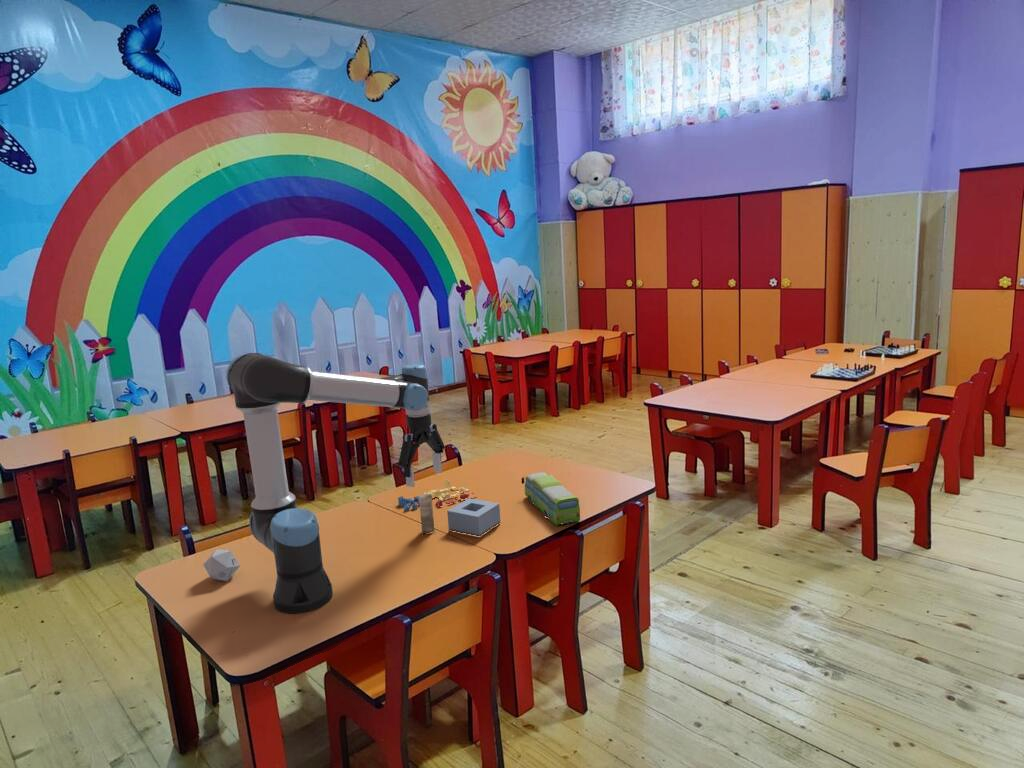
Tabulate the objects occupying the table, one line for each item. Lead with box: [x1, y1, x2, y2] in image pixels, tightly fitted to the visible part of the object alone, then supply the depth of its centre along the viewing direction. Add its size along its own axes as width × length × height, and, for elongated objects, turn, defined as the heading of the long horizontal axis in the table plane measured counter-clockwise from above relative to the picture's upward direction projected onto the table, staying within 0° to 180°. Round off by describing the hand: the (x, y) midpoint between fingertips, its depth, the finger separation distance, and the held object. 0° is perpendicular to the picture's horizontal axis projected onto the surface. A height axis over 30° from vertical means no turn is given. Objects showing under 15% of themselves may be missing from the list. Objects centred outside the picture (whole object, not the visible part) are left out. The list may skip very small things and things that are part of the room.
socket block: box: [446, 498, 501, 536], centre depth 224 cm, size 12×12×7 cm
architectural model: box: [397, 479, 474, 512], centre depth 254 cm, size 45×14×5 cm, turn 125°
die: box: [202, 548, 241, 582], centre depth 199 cm, size 8×9×10 cm
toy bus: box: [521, 471, 581, 526], centre depth 236 cm, size 10×31×10 cm, turn 19°
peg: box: [418, 493, 435, 534], centre depth 222 cm, size 4×4×12 cm
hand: (424, 479), depth 220 cm, fingers open, 13 cm apart
